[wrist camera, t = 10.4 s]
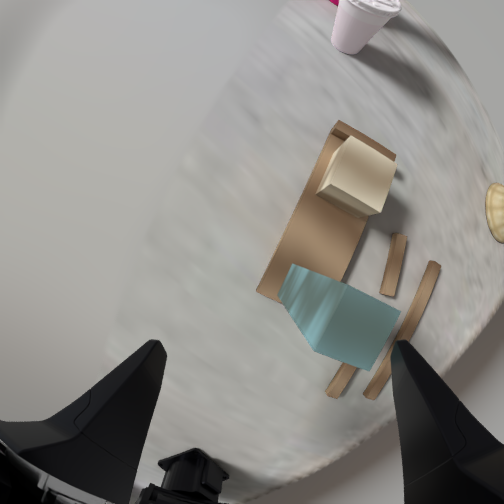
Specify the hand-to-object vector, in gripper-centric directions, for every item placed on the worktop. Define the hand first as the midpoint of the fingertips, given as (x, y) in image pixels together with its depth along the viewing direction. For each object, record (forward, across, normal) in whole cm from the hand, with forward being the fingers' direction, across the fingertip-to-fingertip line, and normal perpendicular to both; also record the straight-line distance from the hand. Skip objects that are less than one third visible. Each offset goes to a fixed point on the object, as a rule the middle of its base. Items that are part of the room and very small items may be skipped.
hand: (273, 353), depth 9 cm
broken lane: (+13, -10, +12) cm, 20 cm away
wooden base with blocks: (+17, -4, +3) cm, 18 cm away
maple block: (+18, -5, 0) cm, 19 cm away
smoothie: (+29, -9, -16) cm, 34 cm away
